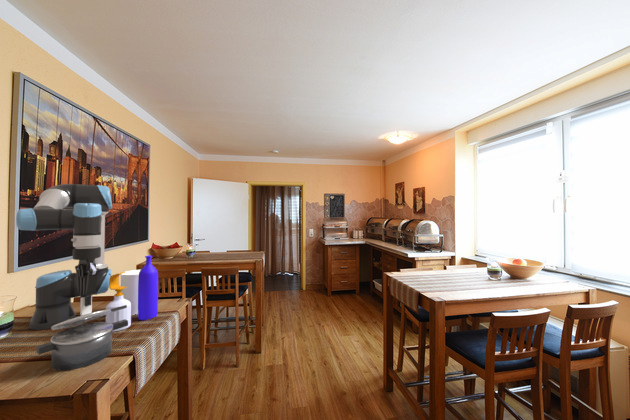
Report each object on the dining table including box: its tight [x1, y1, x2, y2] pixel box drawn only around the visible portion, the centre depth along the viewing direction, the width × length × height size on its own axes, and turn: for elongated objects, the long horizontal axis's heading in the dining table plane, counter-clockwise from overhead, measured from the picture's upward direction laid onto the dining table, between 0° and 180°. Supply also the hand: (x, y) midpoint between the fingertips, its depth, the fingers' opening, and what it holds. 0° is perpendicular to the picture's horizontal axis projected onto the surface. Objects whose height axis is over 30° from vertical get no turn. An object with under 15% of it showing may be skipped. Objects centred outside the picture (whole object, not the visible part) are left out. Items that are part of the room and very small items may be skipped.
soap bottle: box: [105, 271, 132, 333], centre depth 118 cm, size 9×9×25 cm
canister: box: [120, 268, 142, 316], centre depth 139 cm, size 14×14×20 cm
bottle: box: [137, 255, 159, 321], centre depth 129 cm, size 8×8×30 cm
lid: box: [50, 305, 127, 331], centre depth 97 cm, size 17×22×2 cm
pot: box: [36, 319, 128, 372], centre depth 94 cm, size 17×25×9 cm, turn 150°
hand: (86, 314), depth 93 cm, fingers closed
